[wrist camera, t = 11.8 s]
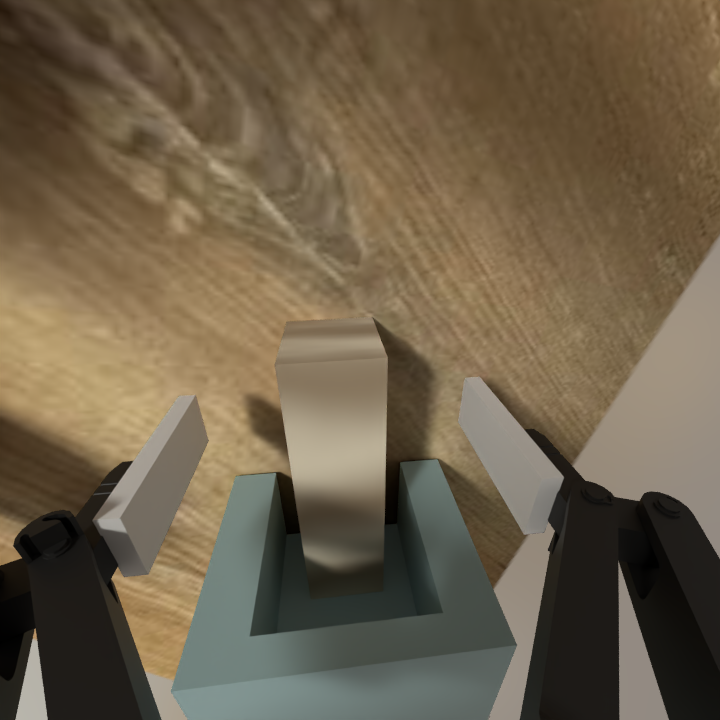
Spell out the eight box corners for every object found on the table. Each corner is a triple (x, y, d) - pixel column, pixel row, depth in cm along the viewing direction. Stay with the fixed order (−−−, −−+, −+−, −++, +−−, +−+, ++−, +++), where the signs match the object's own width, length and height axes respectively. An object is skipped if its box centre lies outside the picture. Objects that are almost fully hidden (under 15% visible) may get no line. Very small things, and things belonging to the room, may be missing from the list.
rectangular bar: (287, 319, 17) (274, 364, 13) (371, 315, 18) (387, 357, 13) (313, 525, 25) (310, 599, 20) (372, 519, 25) (383, 591, 21)
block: (235, 476, 21) (170, 691, 12) (437, 459, 22) (516, 645, 13) (255, 555, 25) (216, 767, 16) (427, 537, 26) (485, 725, 17)
